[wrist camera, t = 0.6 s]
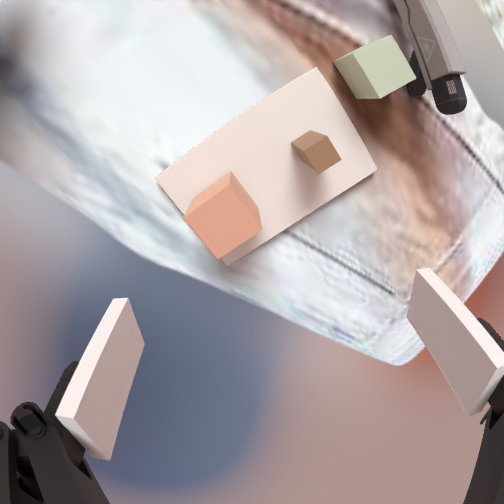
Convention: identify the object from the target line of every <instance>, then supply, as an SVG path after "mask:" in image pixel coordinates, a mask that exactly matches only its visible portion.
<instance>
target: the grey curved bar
mask: <svg viewBox="0 0 504 504" xmlns="http://www.w3.org/2000/svg"><path fill="white" fill-rule="evenodd" d="M393 1H394V3H395V6H396V8H397V10H398V12H399V14H400V17H401V19H402V21H403V23H404V26H405V28H406V31H407V33H408V35H409V38H410V40H411V43H412V46H413V48H414V50H413V52H412V56H411V59H410V62H409V65H410V67H411V69H412V71H413V73H414V74H415V76H416V79H414V80H413V81H411V82H409V83H407V86H408V89H409V92H410V94H411V95H423V94H424V93H425V91H426V88H427V90H432V93H433V97H434V100H435V104H436V107H437V109H438V110H439V111H440V112H441V113H442V114H445V115H451V114H456V113H459V112H461V111H463V110H464V109H465V107H466V104H467V98H466V95H465V91H464V88H463V84H462V81H461V78H460V75H462V74H465V73H466V71H465V68H464V65H463V62H462V59H461V56H460V54H459V51H458V49H457V46H456V43H455V41H454V38H453V36H452V33H451V31H450V28H449V26H448V24H447V22H446V19H445V17H444V15H443V13H442V11H441V9H440V7H439V5H438V3H437V1H436V0H393Z"/></svg>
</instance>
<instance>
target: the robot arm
mask: <svg viewBox="0 0 504 504" xmlns="http://www.w3.org/2000/svg"><path fill="white" fill-rule="evenodd" d="M407 319H408V320H409V322H410V323H411V325H412V326H413V328H414V329H415V331H416V332H417V334H418V335H419V337H420V338H421V340H422V341H423V343H424V345H425V346H426V348H427V349H428V351H429V352H430V354H431V356H432V357H433V359H434V360H435V362H436V364H437V365H438V367H439V369H440V370H441V372H442V374H443V375H444V377H445V379H446V380H447V382H448V384H449V386H450V387H451V389H452V391H453V393H454V394H455V396H456V398H457V400H458V401H459V403H460V405H461V407H462V408H463V410H464V412H465V414H466V416H467V417H469V416H471V415H473V414H476V413H478V412H480V411H481V410H482V409H483V408H484V406H485V405H486V403H487V402H489V404H490V405H491V407H490V408H489V410H488V411H487V413H486V414H485V416H484V417H483V418H482V420H481V422H480V424H483V422H484V421H485V420H486V418H487V420H486V424H485V429H484V434H483V439H482V443H481V447H480V451H479V455H478V459H477V462H476V466H475V469H474V473H473V476H472V480H471V482H470V486H469V489H468V491H467V494H466V497H465V500H464V503H463V504H504V341H503V340H501V337H500V336H499V335H498V333H496V331H495V330H494V329H493V328H492V326H491V325H490V324H489V323H487V322H486V321H484V320H483V319H481V318H475V317H474V316H473V315H472V313H471V312H470V311H469V310H468V309H467V308H466V307H465V305H464V304H463V303H462V302H461V301H460V300H459V299H458V298H457V296H456V295H455V294H454V293H453V292H452V291H451V290H450V289H449V288H448V287H447V286H446V285H445V284H444V283H443V281H442V280H441V279H440V278H439V277H438V276H437V275H436V274H435V273H434V272H433V271H432V270H431V269H430V268H425V269H418V270H416V274H415V279H414V284H413V289H412V294H411V299H410V304H409V308H408V313H407ZM144 345H145V343H144V341H143V338H142V335H141V333H140V330H139V327H138V325H137V322H136V319H135V316H134V313H133V311H132V308H131V305H130V302H129V299H128V298H117V299H113V300H112V302H111V304H110V306H109V308H108V309H107V311H106V313H105V315H104V316H103V318H102V320H101V322H100V324H99V326H98V327H97V329H96V331H95V333H94V335H93V337H92V339H91V341H90V343H89V345H88V346H87V349H86V350H85V352H84V354H83V356H82V358H81V360H80V362H77V361H73V362H72V363H71V364H70V365H69V366H68V367H67V368H66V369H65V370H64V372H63V374H62V376H61V378H60V381H59V382H58V384H57V386H56V389H55V390H54V392H53V394H52V396H51V398H50V401H49V403H48V405H47V407H46V409H45V411H44V413H43V411H42V410H41V409H40V408H39V407H38V405H37V404H35V403H33V402H26V403H22V404H21V405H19V406H17V407H16V409H15V410H14V411H13V413H12V415H11V424H12V425H13V426H14V427H15V428H16V429H12V430H11V429H10V428H9V427H8V426H7V425H6V424H5V423H3V422H1V421H0V504H110V503H109V501H108V499H107V498H106V496H105V495H104V493H103V491H102V489H101V487H100V486H99V484H98V482H97V480H96V478H95V476H94V475H93V473H92V471H91V469H90V467H89V465H88V463H87V461H86V460H85V458H84V457H83V456H84V453H85V450H86V451H87V452H88V453H89V454H90V455H91V456H92V457H94V458H99V459H104V460H110V459H111V455H112V451H113V447H114V443H115V440H116V436H117V432H118V429H119V425H120V421H121V418H122V415H123V411H124V408H125V404H126V401H127V398H128V394H129V391H130V388H131V384H132V381H133V378H134V375H135V372H136V369H137V366H138V363H139V359H140V357H141V354H142V351H143V347H144Z"/></svg>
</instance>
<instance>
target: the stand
mask: <svg viewBox="0 0 504 504" xmlns="http://www.w3.org/2000/svg"><path fill="white" fill-rule="evenodd" d="M376 170H378V169H377V167H376V165H375V163H374V161H373V160H372V158H371V156H370V154H369V152H368V150H367V148H366V146H365V145H364V143H363V141H362V139H361V137H360V136H359V134H358V132H357V130H356V129H355V127H354V125H353V123H352V122H351V120H350V118H349V117H348V115H347V113H346V112H345V110H344V108H343V107H342V105H341V104H340V102H339V100H338V99H337V97H336V96H335V94H334V92H333V91H332V89H331V88H330V86H329V85H328V83H327V82H326V80H325V79H324V77H323V76H322V74H321V73H320V71H319V70H318V68H317V67H315V68H313V69H312V70H310V71H308V72H306V73H305V74H303V75H301V76H300V77H298V78H296V79H294V80H293V81H291V82H289V83H288V84H286V85H284V86H283V87H281V88H280V89H278V90H276V91H275V92H273V93H272V94H270V95H268V96H267V97H265V98H264V99H262V100H261V101H259V102H257V103H256V104H254V105H253V106H251V107H250V108H248V109H247V110H245V111H244V112H242V113H241V114H239V115H238V116H237V117H235V118H234V119H232V120H231V121H229V122H228V123H226V124H225V125H224V126H222V127H221V128H219V129H218V130H217V131H215V132H214V133H212V134H211V135H210V136H208V137H207V138H206V139H204V140H203V141H201V142H200V143H199V144H197V145H196V146H195V147H193V148H192V149H191V150H190V151H188V152H187V153H186V154H184V155H183V156H182V157H180V158H179V159H178V160H177V161H175V162H174V163H173V164H172V165H170V166H169V167H168V168H167V169H165V170H164V171H163V172H162V173H160V174H159V175H158V176H157V177H156V178H155V180H156V181H157V182H158V184H159V185H160V186H161V187H162V188H163V190H164V191H165V192H166V193H167V195H168V196H169V197H170V198H171V199H172V201H173V202H174V203H175V204H176V206H177V207H178V208H179V209H180V210H181V212H182V213H183V214H184V215H185V216H184V218H183V219H184V220H185V221H186V222H187V224H188V225H189V226H190V227H191V228H192V230H193V231H194V232H195V233H196V234H197V236H198V237H199V238H200V239H201V240H202V242H203V243H204V244H205V245H206V246H207V247H208V249H209V250H210V251H211V252H212V253H213V255H214V256H215V257H216V258H217V259H219V258H221V260H222V261H223V262H224V263H225V264H226V266H229V265H231V264H232V263H234V262H235V261H237V260H238V259H240V258H241V257H243V256H244V255H246V254H248V253H249V252H251V251H252V250H254V249H255V248H257V247H258V246H260V245H262V244H263V243H265V242H266V241H268V240H269V239H271V238H272V237H274V236H275V235H277V234H279V233H280V232H282V231H283V230H285V229H286V228H288V227H289V226H291V225H292V224H294V223H296V222H297V221H299V220H300V219H302V218H303V217H305V216H306V215H308V214H310V213H311V212H313V211H314V210H316V209H317V208H319V207H320V206H322V205H323V204H325V203H327V202H328V201H330V200H331V199H333V198H334V197H336V196H337V195H339V194H341V193H342V192H344V191H345V190H347V189H348V188H350V187H351V186H353V185H354V184H356V183H358V182H359V181H361V180H362V179H364V178H365V177H367V176H368V175H370V174H372V173H373V172H375V171H376Z"/></svg>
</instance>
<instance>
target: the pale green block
mask: <svg viewBox="0 0 504 504" xmlns="http://www.w3.org/2000/svg"><path fill="white" fill-rule="evenodd" d="M333 63H334V65H335V66H336V68H337V69H338V71H339V72H340V74H341V75H342V77H343V78H344V80H345V81H346V83H347V85H348V86H349V88H350V89H351V91H352V93H353V94H354V96H355V98H356V99H380V98H382V97H384V96H386V95H387V94H389V93H391V92H393V91H395V90H396V89H398V88H400V87H402V86H403V85H405V84H407V83H409V82H411V81H413V80H414V79H416V76H415V74H414V73H413V71H412V69H411V67H410V65H409V63H408V62H407V60H406V58H405V56H404V55H403V53H402V51H401V50H400V48H399V46H398V45H397V43H396V41H395V40H394V38H393V37H392V35H389V36H386V37H384V38H381V39H378V40H376V41H373V42H371V43H369V44H366V45H364V46H362V47H360V48H358V49H356V50H354V51H352V52H350V53H348V54H346V55H344V56H343V57H341V58H339V59H337V60H335V61H333Z"/></svg>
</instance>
